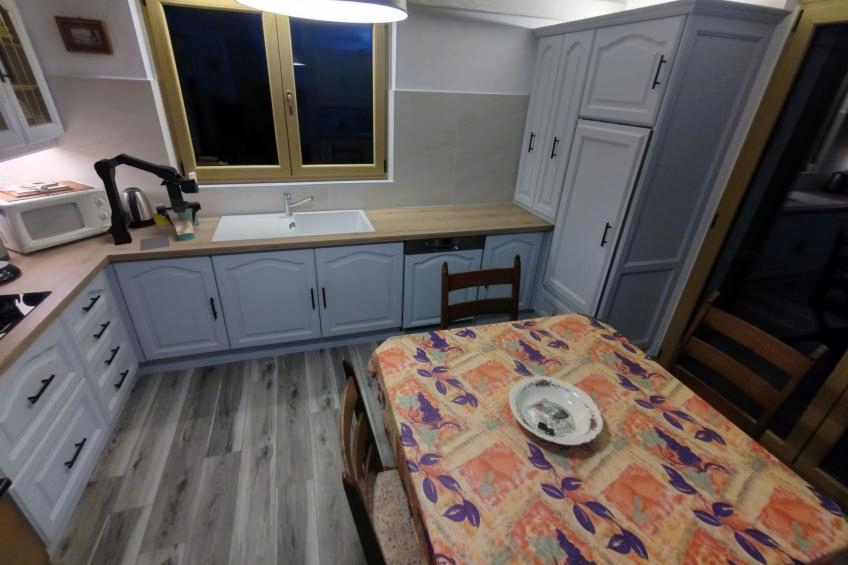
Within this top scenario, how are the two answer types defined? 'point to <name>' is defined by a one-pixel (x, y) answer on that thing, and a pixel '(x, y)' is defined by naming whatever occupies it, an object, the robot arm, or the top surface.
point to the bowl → (186, 236)
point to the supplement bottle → (160, 219)
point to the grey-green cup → (188, 216)
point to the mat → (154, 243)
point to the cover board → (184, 227)
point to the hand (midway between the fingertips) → (183, 224)
